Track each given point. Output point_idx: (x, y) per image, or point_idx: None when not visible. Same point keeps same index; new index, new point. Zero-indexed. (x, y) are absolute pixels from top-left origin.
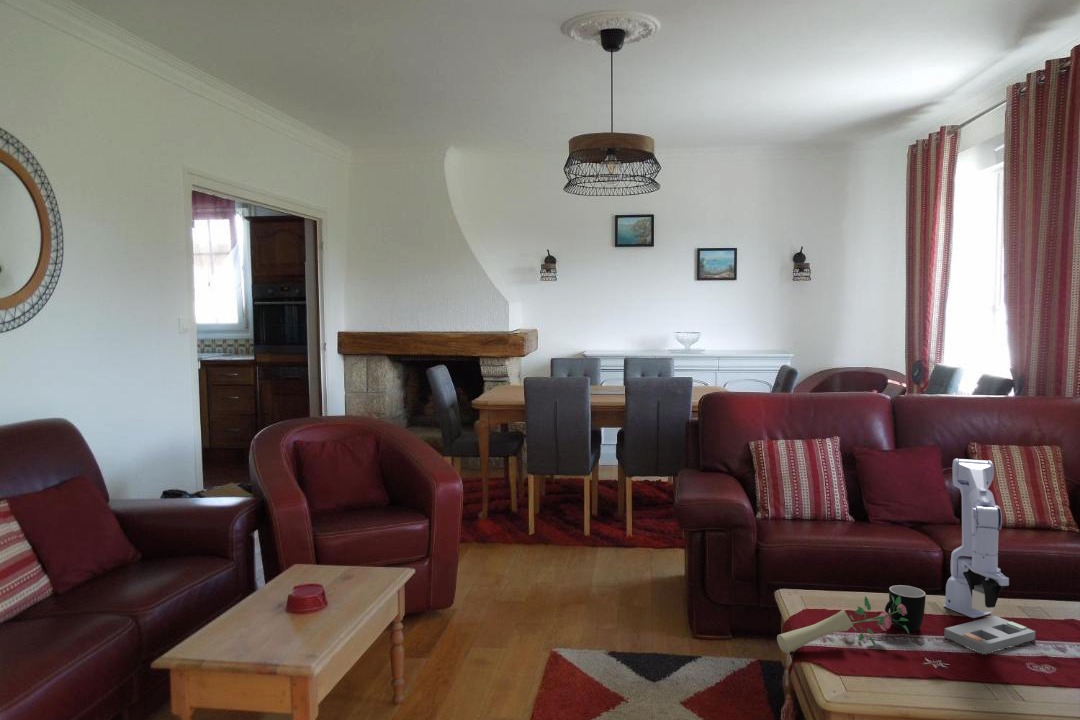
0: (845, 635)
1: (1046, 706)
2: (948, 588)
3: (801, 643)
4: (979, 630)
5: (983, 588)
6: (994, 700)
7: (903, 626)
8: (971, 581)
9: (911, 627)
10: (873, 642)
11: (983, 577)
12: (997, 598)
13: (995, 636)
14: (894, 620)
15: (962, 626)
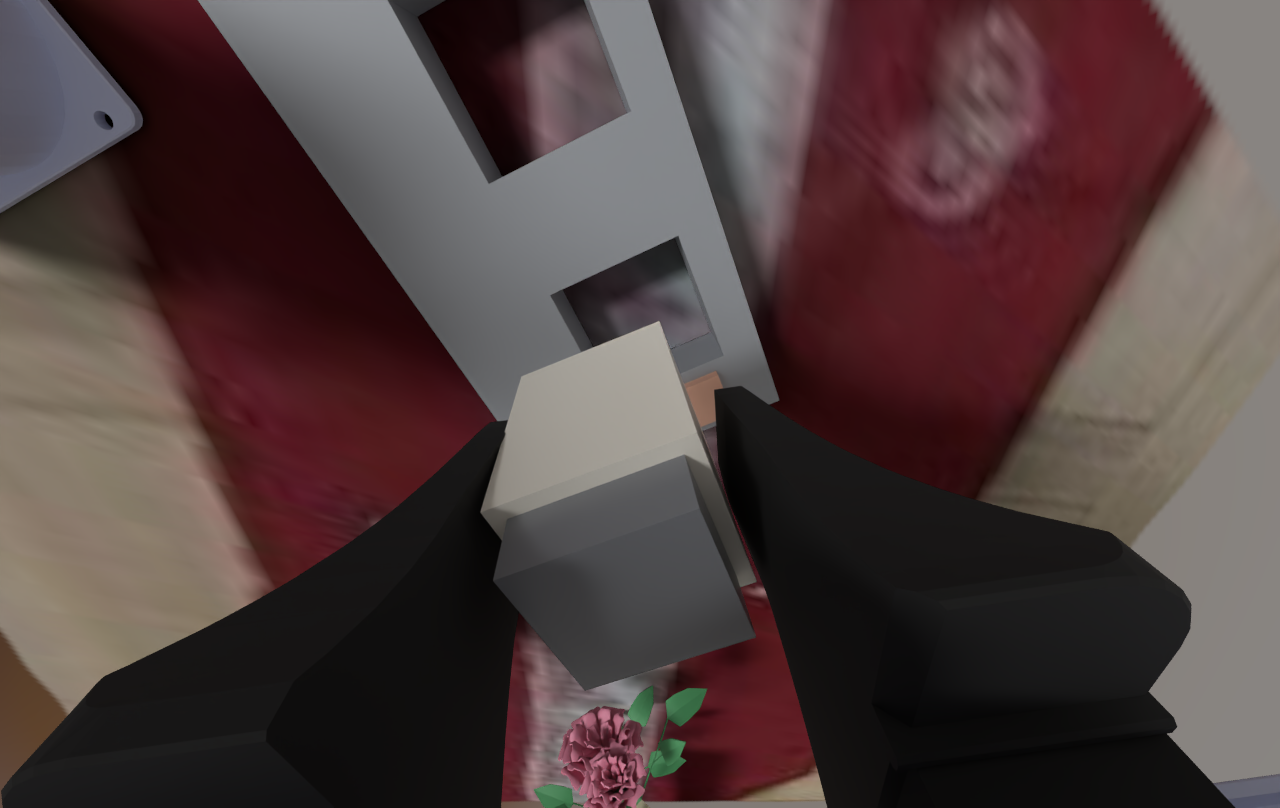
0: (562, 729)
1: (1231, 372)
2: None
3: None
4: (557, 308)
5: (704, 636)
6: (1091, 518)
7: (670, 716)
8: (499, 739)
9: None
10: (646, 703)
11: (388, 667)
12: (804, 432)
13: (650, 246)
14: (656, 760)
15: (506, 388)
